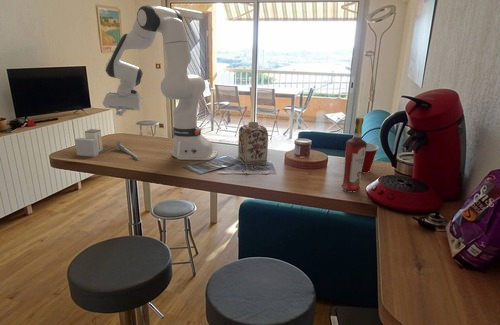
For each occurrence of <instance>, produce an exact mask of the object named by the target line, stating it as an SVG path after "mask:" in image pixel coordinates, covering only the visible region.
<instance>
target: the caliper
mask: <svg viewBox="0 0 500 325" xmlns="http://www.w3.org/2000/svg"><path fill="white" fill-rule="evenodd" d="M115 146H116V150H118V151H121V152H123V153H126V154H127V155H129V156H131V157H132V158H133V159H134V160H136V161H141V159H140V157H139V156H138V155H137V154H135V153H133V152H132V151H130V150H129V149H127V148H126V146H125V145H123V144H122V143H121V140H116V144H115Z"/></svg>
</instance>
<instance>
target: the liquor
mask: <svg viewBox="0 0 500 325" xmlns="http://www.w3.org/2000/svg"><path fill="white" fill-rule="evenodd" d="M363 125H364V117H357V116H356V117H355V126H354V132H353V137H352V138H350V139H348V140H346V142H345V153H344V154H345V155H344V166H343V167H344V172H343V182H342V184H341V188H343V190H344V191H345V190H346V192H347V191H352V192H351V193H354V192H353V191H356V192H358V191H359V190H360V189H361V187H360V182H361V176H362V173H361V172H362V167H363V162H364V157H365V152H366V147H367V143H368V142H366V141H365V140H363V139H362V131H363Z"/></svg>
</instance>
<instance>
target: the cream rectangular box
mask: <svg viewBox="0 0 500 325" xmlns="http://www.w3.org/2000/svg"><path fill="white" fill-rule="evenodd" d="M84 138H88V139H97V147H98V152H100V151H102V150H104V148H103V140H102V130H101V129H94V128H93V129H92V128H90V129H88V130H85V131H84Z"/></svg>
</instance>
